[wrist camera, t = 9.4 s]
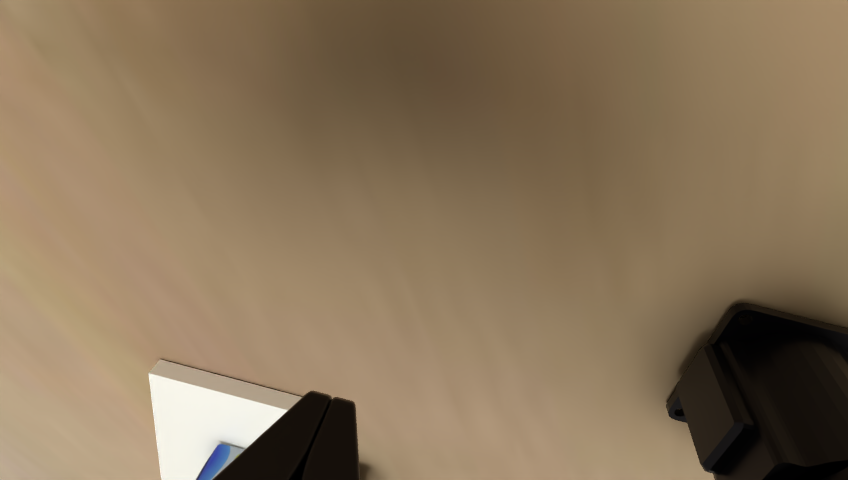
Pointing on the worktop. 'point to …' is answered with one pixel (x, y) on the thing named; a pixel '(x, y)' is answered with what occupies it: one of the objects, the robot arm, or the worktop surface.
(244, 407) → the mat
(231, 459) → the medicine box
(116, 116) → the worktop surface
